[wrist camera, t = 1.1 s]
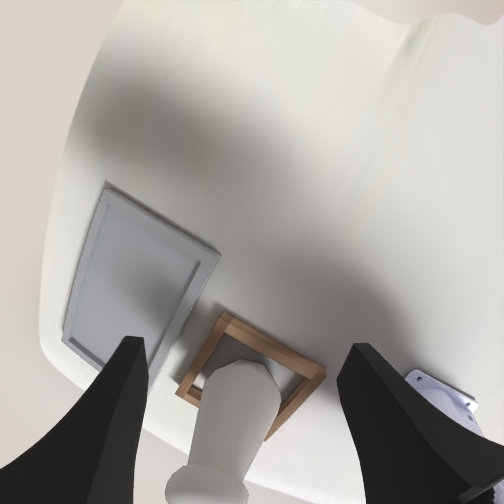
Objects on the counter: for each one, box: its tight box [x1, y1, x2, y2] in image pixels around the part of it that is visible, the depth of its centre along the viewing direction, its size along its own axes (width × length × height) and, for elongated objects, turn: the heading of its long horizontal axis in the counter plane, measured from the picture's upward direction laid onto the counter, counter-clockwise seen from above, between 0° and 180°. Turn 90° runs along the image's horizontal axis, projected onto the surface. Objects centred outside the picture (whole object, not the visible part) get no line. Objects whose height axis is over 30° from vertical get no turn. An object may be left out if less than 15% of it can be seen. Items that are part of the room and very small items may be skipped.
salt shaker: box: [165, 359, 281, 504], centre depth 17 cm, size 6×6×13 cm
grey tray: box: [61, 188, 221, 397], centre depth 24 cm, size 10×16×1 cm, turn 151°
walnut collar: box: [175, 311, 326, 441], centre depth 23 cm, size 9×9×1 cm
